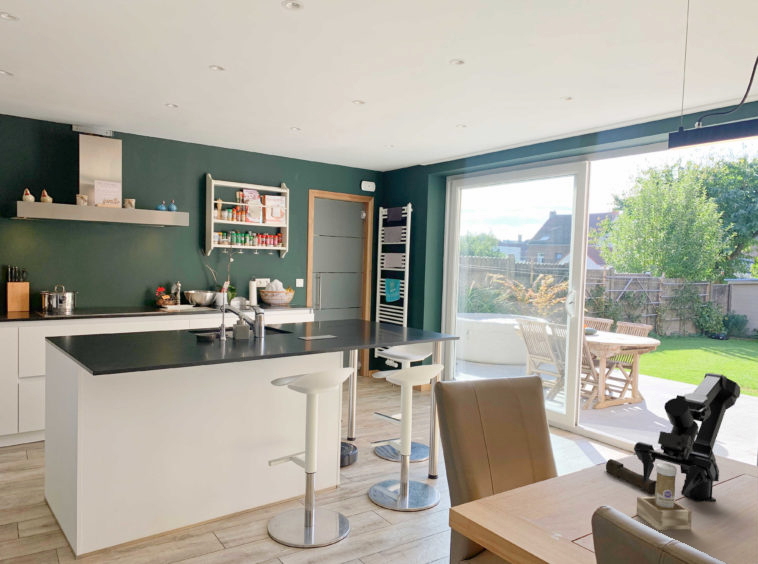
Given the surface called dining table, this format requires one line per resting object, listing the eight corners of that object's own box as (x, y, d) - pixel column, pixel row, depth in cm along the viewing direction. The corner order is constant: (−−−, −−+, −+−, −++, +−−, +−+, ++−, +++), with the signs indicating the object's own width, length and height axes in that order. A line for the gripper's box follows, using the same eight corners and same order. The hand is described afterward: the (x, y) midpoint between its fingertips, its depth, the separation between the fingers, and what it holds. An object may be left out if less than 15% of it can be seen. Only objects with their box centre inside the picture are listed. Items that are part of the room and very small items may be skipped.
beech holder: (667, 513, 147) (668, 496, 147) (690, 529, 138) (692, 511, 138) (636, 513, 146) (637, 497, 146) (658, 529, 137) (659, 512, 137)
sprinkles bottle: (660, 521, 140) (663, 468, 139) (650, 513, 144) (653, 462, 144) (677, 521, 140) (680, 469, 140) (666, 513, 145) (669, 462, 144)
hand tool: (659, 494, 161) (660, 478, 161) (648, 495, 159) (649, 479, 159) (613, 471, 179) (613, 456, 179) (602, 471, 177) (603, 457, 177)
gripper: (638, 412, 151) (618, 460, 144) (714, 429, 137) (696, 483, 130) (649, 435, 157) (629, 483, 150) (723, 454, 143) (705, 507, 136)
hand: (663, 488), depth 141 cm, fingers open, 9 cm apart
